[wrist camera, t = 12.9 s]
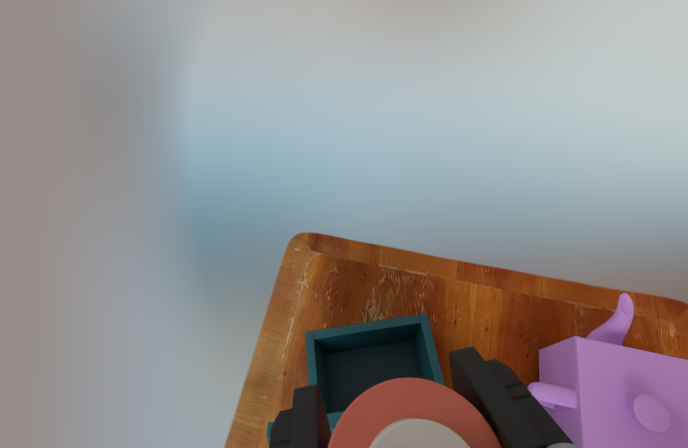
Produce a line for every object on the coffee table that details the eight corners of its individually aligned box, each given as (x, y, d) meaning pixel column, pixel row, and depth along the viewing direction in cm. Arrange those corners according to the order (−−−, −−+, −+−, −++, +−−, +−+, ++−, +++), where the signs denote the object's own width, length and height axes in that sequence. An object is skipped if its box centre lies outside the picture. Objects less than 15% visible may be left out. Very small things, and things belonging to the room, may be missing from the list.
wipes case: (319, 349, 41) (304, 331, 32) (416, 334, 41) (427, 313, 32) (332, 491, 34) (318, 517, 26) (448, 474, 34) (473, 494, 26)
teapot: (695, 457, 33) (823, 474, 24) (587, 537, 31) (680, 592, 22) (573, 317, 40) (634, 287, 31) (479, 375, 38) (513, 361, 29)
